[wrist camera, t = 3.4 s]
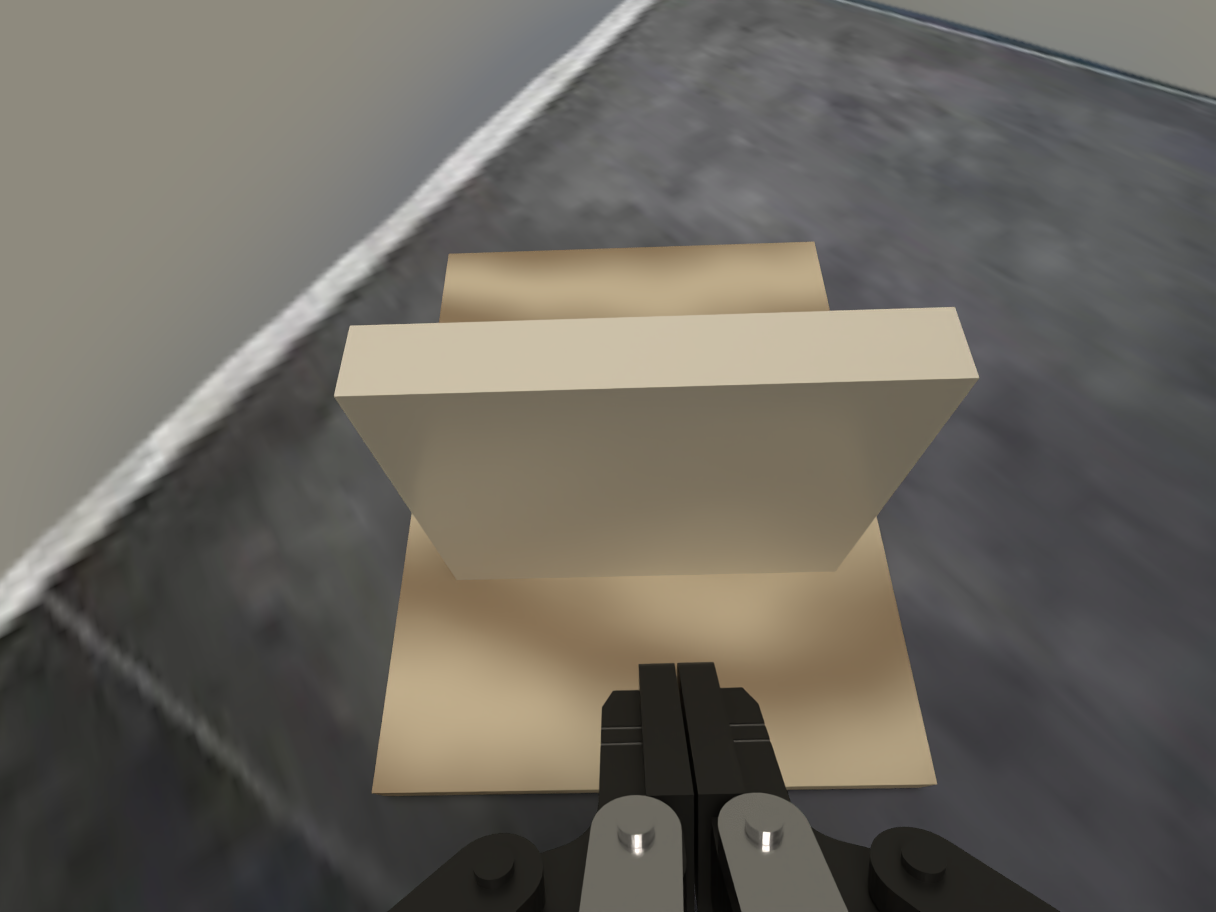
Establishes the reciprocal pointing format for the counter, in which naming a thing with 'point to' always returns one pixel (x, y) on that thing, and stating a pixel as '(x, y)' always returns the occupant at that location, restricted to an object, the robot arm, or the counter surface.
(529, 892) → the robot arm
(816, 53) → the counter surface
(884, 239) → the counter surface
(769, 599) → the board
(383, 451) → the tile
